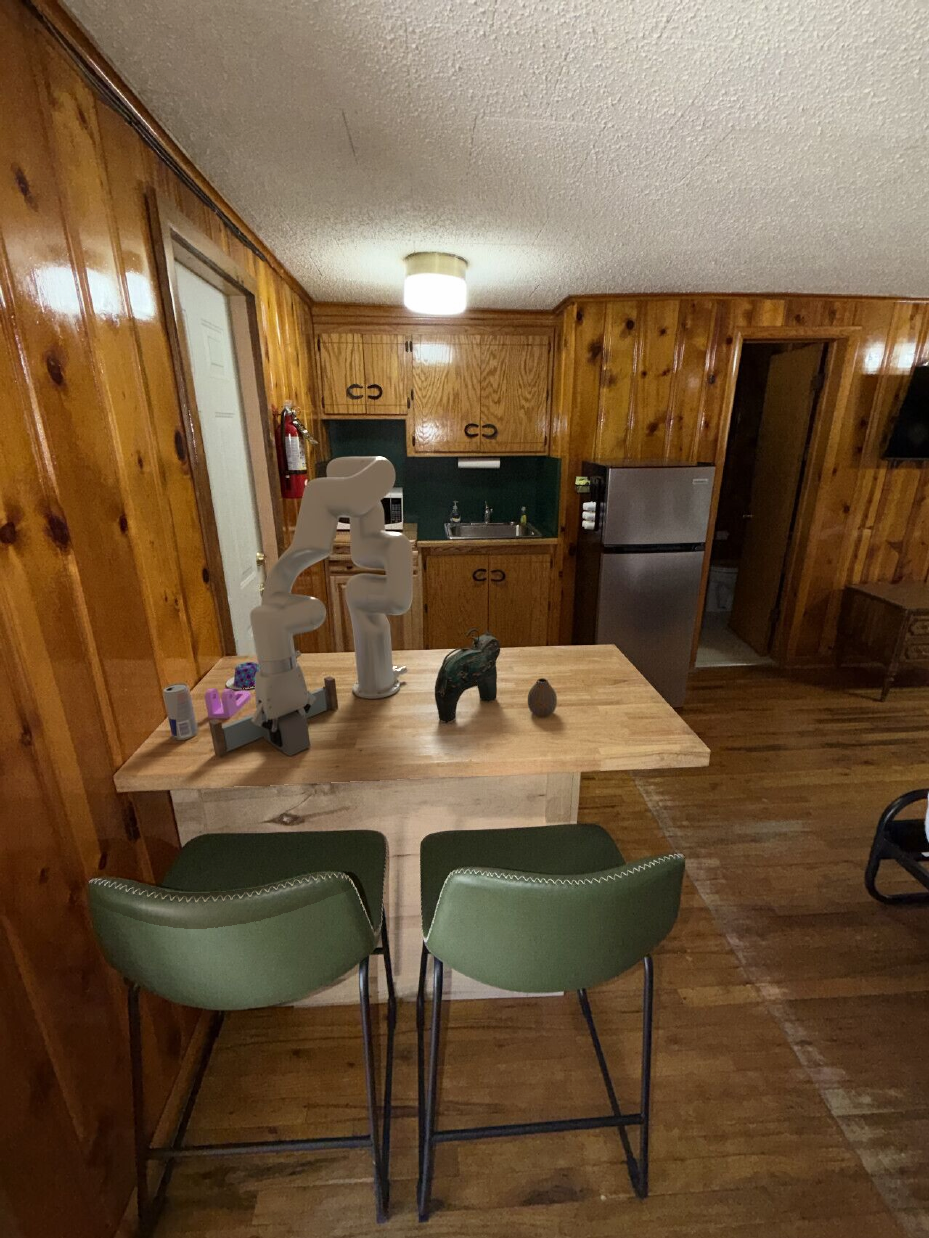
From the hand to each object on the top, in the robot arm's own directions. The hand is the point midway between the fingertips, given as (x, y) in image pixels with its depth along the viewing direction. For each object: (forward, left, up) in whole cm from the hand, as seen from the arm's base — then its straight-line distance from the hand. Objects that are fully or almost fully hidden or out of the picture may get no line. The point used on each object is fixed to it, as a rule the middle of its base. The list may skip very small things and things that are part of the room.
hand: (289, 738), depth 118 cm
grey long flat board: (-3, -8, -2) cm, 9 cm away
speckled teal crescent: (-39, +19, -2) cm, 43 cm away
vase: (-47, +34, -2) cm, 58 cm away
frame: (-3, -8, -2) cm, 9 cm away
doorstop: (0, -1, -2) cm, 2 cm away
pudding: (-10, -41, -2) cm, 42 cm away
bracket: (0, -29, -2) cm, 30 cm away
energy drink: (+13, -23, -2) cm, 27 cm away
